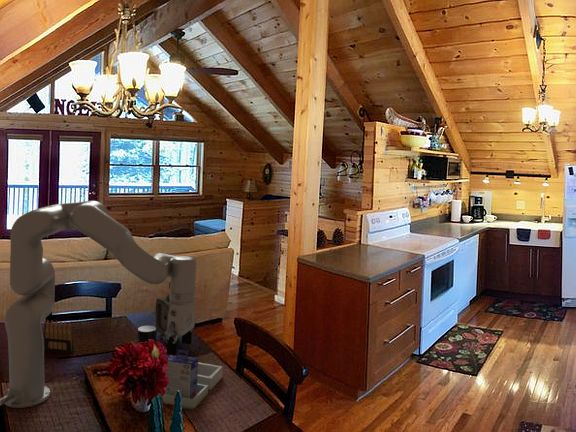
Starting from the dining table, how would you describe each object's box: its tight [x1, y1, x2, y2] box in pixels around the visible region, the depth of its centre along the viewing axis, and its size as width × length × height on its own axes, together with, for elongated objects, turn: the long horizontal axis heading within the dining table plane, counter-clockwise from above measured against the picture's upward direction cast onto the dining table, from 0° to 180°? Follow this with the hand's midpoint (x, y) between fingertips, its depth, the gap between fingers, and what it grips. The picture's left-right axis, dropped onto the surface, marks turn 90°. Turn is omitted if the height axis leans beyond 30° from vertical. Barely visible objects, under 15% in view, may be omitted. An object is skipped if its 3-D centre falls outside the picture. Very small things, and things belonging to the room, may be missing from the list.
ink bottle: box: [134, 324, 160, 344], centre depth 180 cm, size 10×9×12 cm
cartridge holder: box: [197, 361, 224, 391], centre depth 167 cm, size 10×14×4 cm
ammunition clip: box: [44, 319, 74, 354], centre depth 184 cm, size 11×2×12 cm, turn 83°
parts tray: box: [162, 383, 209, 411], centre depth 154 cm, size 10×14×3 cm
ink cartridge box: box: [165, 348, 199, 399], centre depth 154 cm, size 10×6×14 cm, turn 76°
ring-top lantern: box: [155, 282, 180, 341], centre depth 198 cm, size 14×9×25 cm, turn 37°
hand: (179, 349), depth 152 cm, fingers open, 9 cm apart
